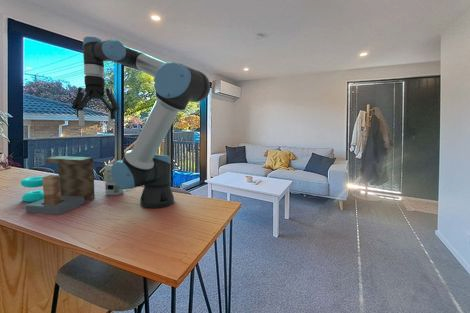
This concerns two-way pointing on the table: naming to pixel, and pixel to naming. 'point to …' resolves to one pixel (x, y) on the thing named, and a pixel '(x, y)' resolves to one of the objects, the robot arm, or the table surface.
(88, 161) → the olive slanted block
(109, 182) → the supplement can
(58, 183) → the peg
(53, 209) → the socket
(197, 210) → the table surface
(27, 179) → the donuts
